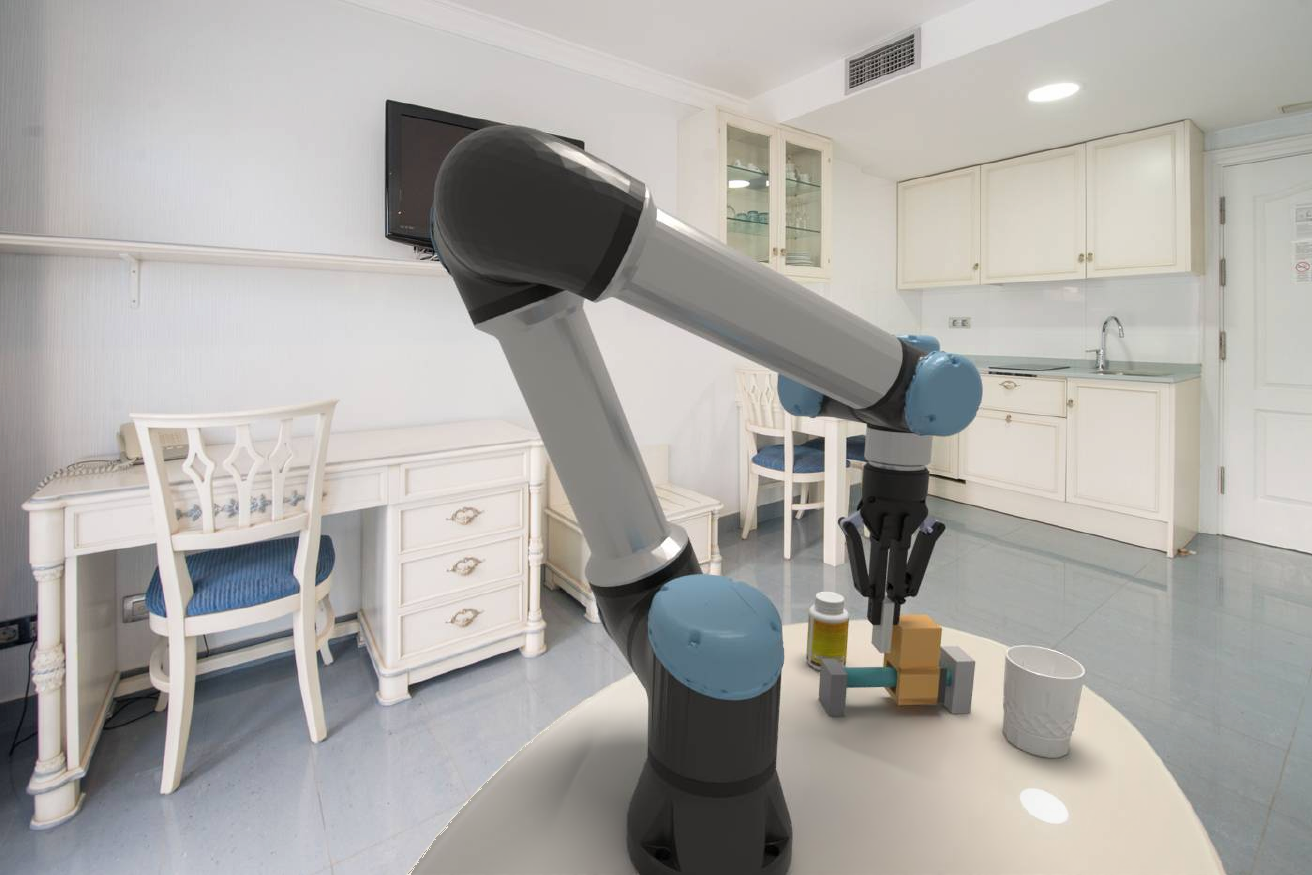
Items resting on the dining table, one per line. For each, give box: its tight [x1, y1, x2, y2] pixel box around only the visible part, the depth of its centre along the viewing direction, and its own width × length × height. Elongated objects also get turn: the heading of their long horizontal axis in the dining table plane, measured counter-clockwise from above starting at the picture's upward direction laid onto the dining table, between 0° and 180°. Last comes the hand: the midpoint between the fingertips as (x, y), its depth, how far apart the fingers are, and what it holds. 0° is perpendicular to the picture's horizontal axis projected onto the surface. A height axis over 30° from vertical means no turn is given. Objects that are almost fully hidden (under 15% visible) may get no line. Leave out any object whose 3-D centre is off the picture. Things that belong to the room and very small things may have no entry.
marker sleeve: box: [882, 614, 943, 706], centre depth 81 cm, size 5×5×10 cm
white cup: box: [1002, 644, 1086, 759], centre depth 75 cm, size 8×8×10 cm
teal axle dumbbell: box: [818, 645, 976, 718], centre depth 81 cm, size 18×5×7 cm, turn 94°
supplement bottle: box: [805, 591, 850, 671], centre depth 92 cm, size 6×6×10 cm
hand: (880, 647), depth 81 cm, fingers closed
